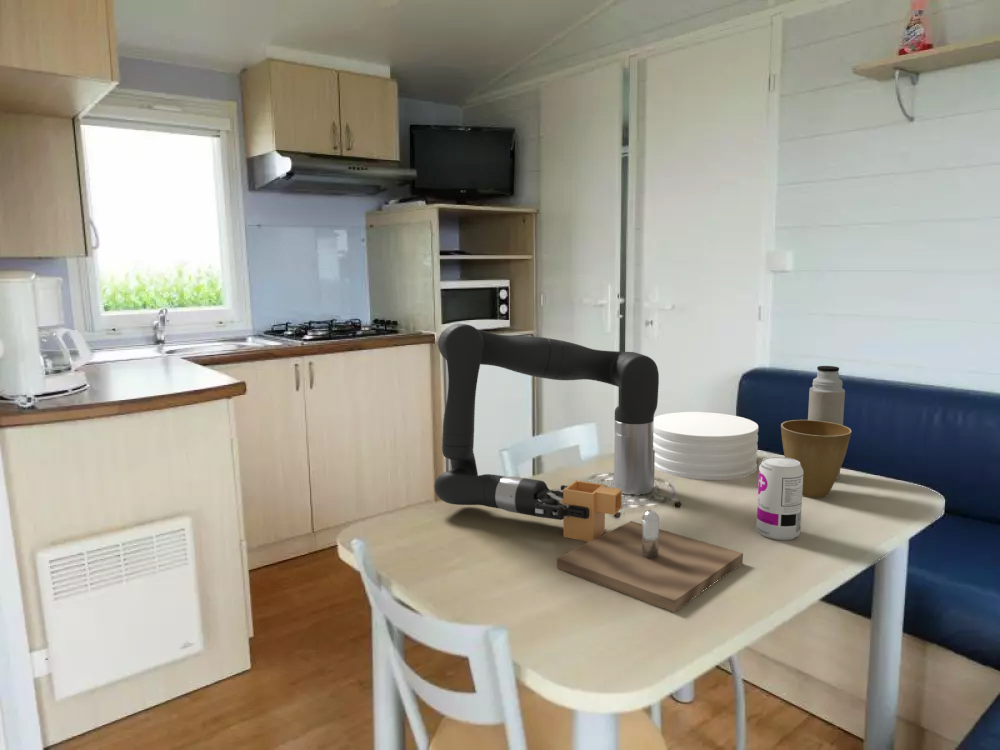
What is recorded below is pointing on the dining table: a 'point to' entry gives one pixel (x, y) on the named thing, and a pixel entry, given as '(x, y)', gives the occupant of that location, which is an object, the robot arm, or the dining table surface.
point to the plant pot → (816, 452)
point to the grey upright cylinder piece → (650, 535)
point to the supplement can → (779, 498)
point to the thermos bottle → (827, 397)
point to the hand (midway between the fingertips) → (595, 507)
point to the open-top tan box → (590, 508)
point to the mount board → (651, 565)
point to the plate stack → (705, 445)
